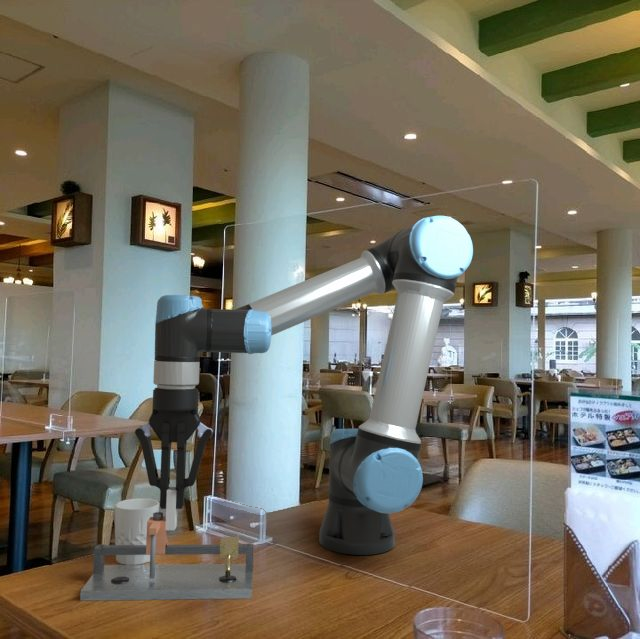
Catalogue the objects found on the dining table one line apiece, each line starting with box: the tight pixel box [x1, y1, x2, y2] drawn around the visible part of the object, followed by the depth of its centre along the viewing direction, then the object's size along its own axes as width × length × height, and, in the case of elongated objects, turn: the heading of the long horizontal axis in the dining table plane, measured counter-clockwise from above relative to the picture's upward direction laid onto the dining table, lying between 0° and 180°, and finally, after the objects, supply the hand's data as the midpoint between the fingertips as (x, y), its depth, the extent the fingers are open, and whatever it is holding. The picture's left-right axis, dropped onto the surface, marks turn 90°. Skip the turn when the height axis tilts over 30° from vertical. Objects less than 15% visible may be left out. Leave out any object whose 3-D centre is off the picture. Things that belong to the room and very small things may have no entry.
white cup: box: [114, 498, 160, 565], centre depth 114 cm, size 8×8×10 cm
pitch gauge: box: [79, 536, 255, 602], centre depth 102 cm, size 26×11×7 cm, turn 95°
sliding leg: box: [146, 511, 169, 579], centre depth 102 cm, size 3×7×9 cm, turn 5°
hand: (171, 527), depth 104 cm, fingers closed
